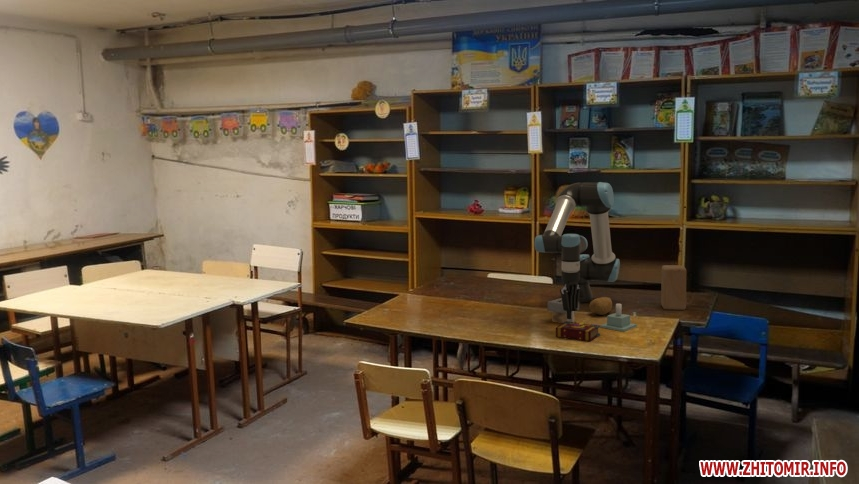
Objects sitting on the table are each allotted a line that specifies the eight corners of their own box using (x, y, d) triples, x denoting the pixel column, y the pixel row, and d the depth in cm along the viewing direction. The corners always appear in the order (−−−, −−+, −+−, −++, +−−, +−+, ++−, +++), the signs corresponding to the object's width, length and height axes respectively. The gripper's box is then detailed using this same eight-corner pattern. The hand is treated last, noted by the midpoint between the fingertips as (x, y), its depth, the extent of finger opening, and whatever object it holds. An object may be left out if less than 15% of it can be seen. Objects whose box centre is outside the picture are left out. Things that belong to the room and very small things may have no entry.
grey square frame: (547, 310, 295) (547, 301, 295) (560, 306, 302) (560, 298, 302) (566, 313, 288) (566, 304, 288) (579, 309, 295) (579, 301, 295)
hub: (600, 327, 283) (600, 304, 282) (613, 322, 291) (613, 300, 289) (623, 331, 275) (623, 308, 274) (636, 326, 283) (637, 303, 282)
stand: (552, 321, 296) (552, 301, 295) (561, 318, 301) (561, 299, 300) (565, 323, 291) (565, 303, 290) (574, 320, 296) (574, 301, 295)
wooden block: (686, 310, 310) (686, 268, 308) (663, 309, 312) (664, 268, 310) (682, 305, 320) (683, 265, 317) (660, 305, 322) (661, 264, 320)
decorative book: (590, 342, 261) (590, 330, 261) (552, 337, 270) (552, 325, 270) (600, 335, 271) (600, 323, 270) (563, 331, 280) (563, 319, 279)
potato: (617, 312, 309) (617, 296, 308) (604, 318, 298) (604, 301, 297) (598, 310, 315) (598, 293, 314) (584, 315, 305) (584, 298, 304)
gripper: (569, 274, 268) (569, 330, 271) (587, 269, 277) (586, 324, 280) (554, 272, 274) (554, 327, 277) (571, 268, 283) (571, 321, 286)
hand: (570, 326), depth 278 cm, fingers closed
